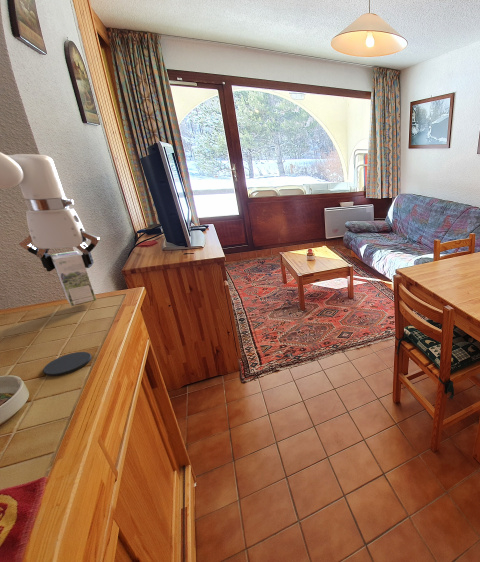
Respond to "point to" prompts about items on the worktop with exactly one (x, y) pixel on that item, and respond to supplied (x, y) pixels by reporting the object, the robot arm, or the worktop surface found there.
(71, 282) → the syrup box
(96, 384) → the worktop surface
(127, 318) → the worktop surface
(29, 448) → the worktop surface
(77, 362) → the coaster
